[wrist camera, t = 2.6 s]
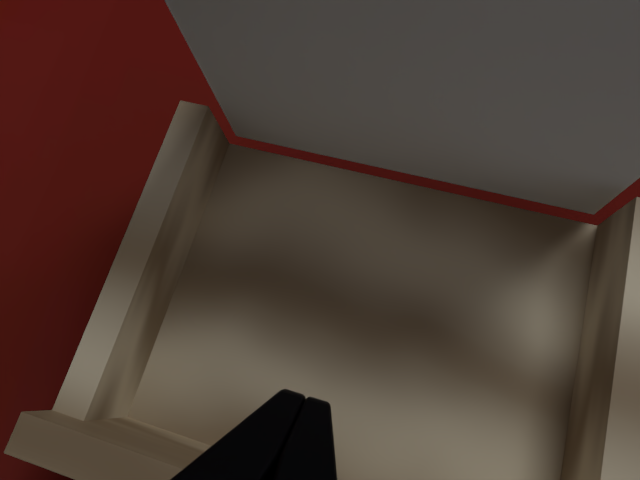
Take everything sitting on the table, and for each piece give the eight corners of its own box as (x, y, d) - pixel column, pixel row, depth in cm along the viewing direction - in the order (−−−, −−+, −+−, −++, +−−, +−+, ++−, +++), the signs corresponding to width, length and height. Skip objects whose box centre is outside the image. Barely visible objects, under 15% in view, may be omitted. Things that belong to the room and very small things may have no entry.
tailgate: (593, 214, 19) (996, -111, 7) (236, 135, 22) (57, -202, 9) (599, 173, 20) (988, -203, 7) (248, 101, 22) (95, -265, 10)
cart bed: (558, 591, 18) (659, 699, 11) (113, 435, 21) (3, 452, 15) (606, 247, 21) (704, 187, 15) (218, 158, 24) (165, 77, 18)
